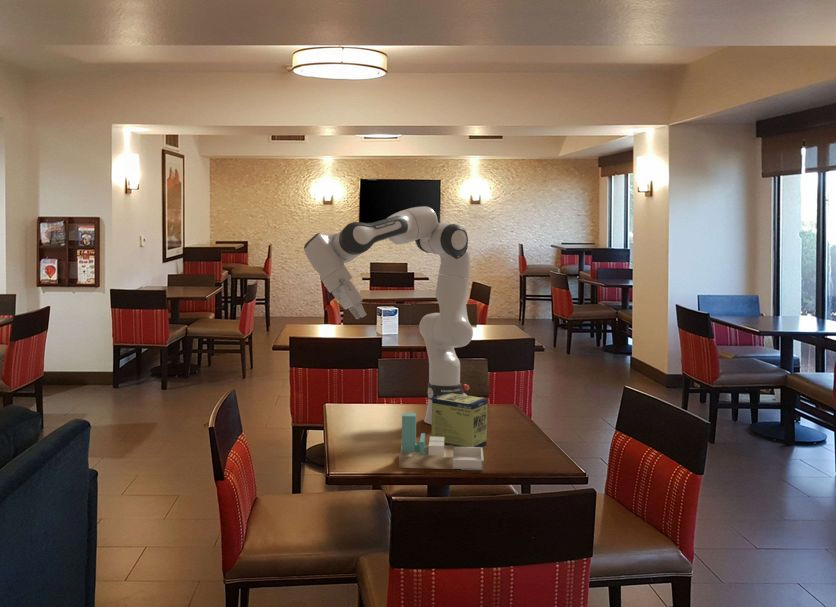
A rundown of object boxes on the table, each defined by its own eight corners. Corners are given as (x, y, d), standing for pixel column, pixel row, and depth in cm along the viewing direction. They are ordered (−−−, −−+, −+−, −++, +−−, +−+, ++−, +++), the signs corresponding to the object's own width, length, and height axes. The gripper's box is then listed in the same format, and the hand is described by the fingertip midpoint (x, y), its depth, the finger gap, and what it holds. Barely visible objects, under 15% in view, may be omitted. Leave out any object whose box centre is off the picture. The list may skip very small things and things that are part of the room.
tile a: (429, 450, 256) (429, 440, 255) (429, 446, 260) (429, 436, 260) (444, 450, 255) (444, 440, 255) (444, 446, 260) (444, 436, 260)
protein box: (472, 452, 267) (473, 404, 265) (430, 444, 275) (430, 397, 273) (487, 444, 275) (488, 398, 274) (446, 437, 284) (447, 392, 282)
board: (398, 467, 249) (398, 456, 249) (401, 455, 262) (401, 444, 262) (452, 469, 249) (453, 457, 248) (453, 456, 261) (453, 445, 261)
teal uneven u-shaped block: (401, 454, 250) (401, 418, 249) (403, 445, 260) (403, 410, 259) (423, 455, 250) (424, 419, 249) (424, 446, 260) (425, 411, 259)
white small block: (428, 455, 250) (428, 445, 250) (429, 451, 254) (429, 441, 254) (443, 455, 250) (443, 446, 249) (443, 451, 254) (444, 441, 254)
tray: (452, 469, 248) (453, 459, 248) (453, 455, 262) (453, 446, 262) (483, 470, 248) (483, 460, 247) (482, 456, 262) (482, 447, 261)
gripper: (351, 272, 259) (375, 309, 260) (341, 278, 279) (364, 313, 280) (334, 282, 258) (359, 320, 259) (326, 289, 277) (348, 324, 278)
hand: (361, 317), depth 269 cm, fingers open, 8 cm apart
